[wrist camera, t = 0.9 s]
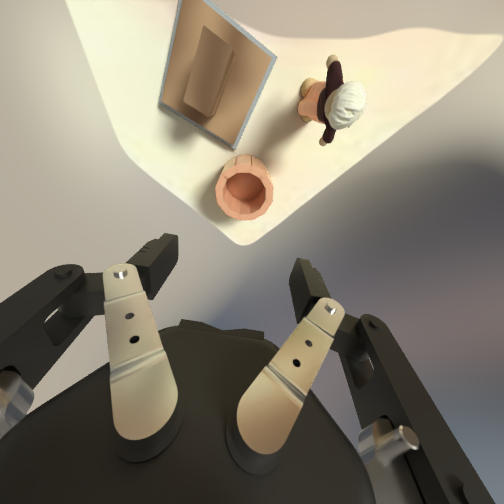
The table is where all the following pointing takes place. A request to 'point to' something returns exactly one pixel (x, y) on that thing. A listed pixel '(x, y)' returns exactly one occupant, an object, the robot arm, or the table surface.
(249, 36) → the mat
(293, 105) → the table surface
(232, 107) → the lid
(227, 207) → the bowl
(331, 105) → the grandmother figurine
